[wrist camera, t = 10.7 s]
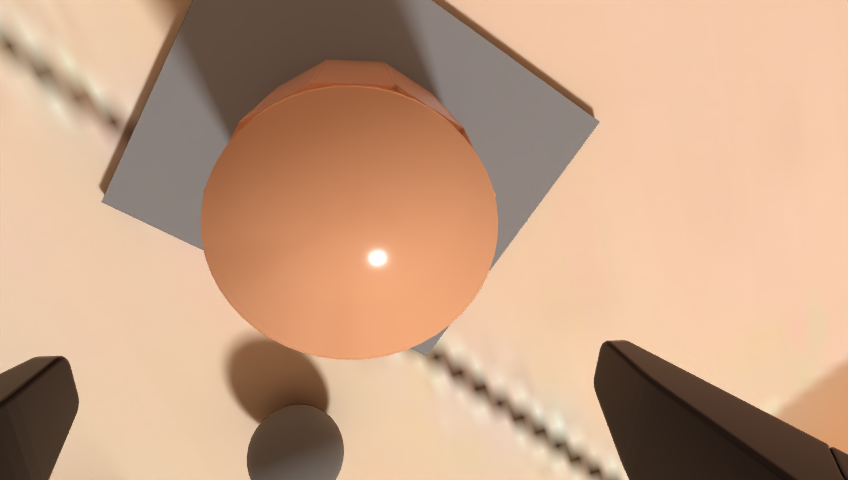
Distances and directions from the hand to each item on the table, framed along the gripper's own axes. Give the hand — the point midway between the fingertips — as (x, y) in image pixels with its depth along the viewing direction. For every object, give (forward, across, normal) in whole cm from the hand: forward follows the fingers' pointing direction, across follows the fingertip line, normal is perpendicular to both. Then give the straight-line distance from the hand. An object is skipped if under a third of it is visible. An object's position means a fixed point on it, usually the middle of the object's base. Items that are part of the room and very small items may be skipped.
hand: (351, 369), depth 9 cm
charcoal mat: (+12, 0, -1) cm, 12 cm away
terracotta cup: (+12, 0, 0) cm, 12 cm away
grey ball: (+12, +2, +12) cm, 17 cm away
